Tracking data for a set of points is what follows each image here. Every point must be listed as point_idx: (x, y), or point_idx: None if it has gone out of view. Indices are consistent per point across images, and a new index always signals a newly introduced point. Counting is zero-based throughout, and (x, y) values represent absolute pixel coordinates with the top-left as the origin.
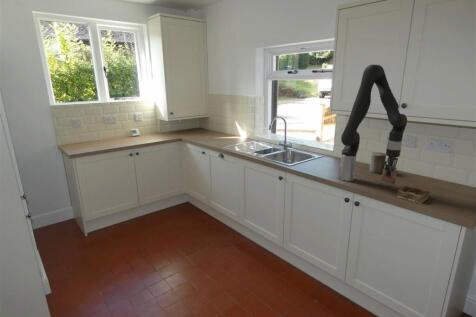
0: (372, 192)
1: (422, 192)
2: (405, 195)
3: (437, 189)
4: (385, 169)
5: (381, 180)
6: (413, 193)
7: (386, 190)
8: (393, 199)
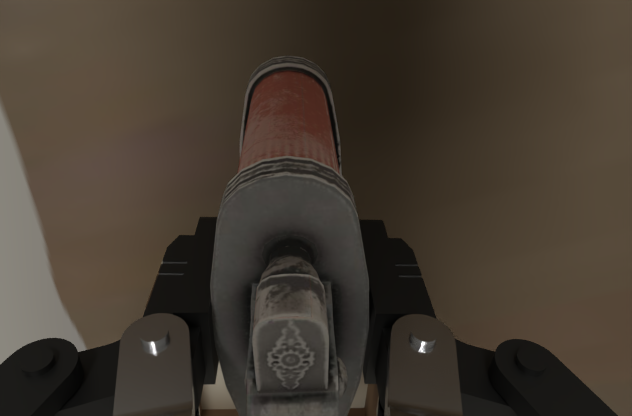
0: (16, 4)
1: (372, 409)
2: None
3: (621, 408)
4: (32, 351)
5: (253, 74)
6: None
7: None
8: (52, 263)
